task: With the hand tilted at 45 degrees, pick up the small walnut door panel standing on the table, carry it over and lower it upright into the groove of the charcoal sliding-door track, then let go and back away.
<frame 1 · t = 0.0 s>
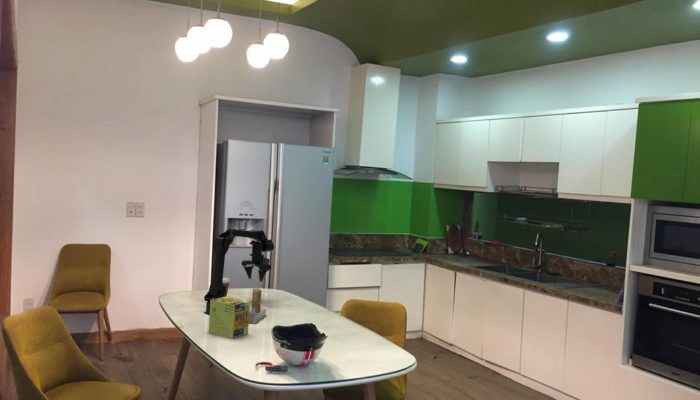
hand: (255, 280, 324), 15 cm above the table, tool pointing down, fingers open, 9 cm apart
protein box: (228, 334, 268), on the table
door panel: (255, 311, 313), on the table
door track: (255, 317, 299), on the table
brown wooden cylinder: (220, 299, 338), on the table
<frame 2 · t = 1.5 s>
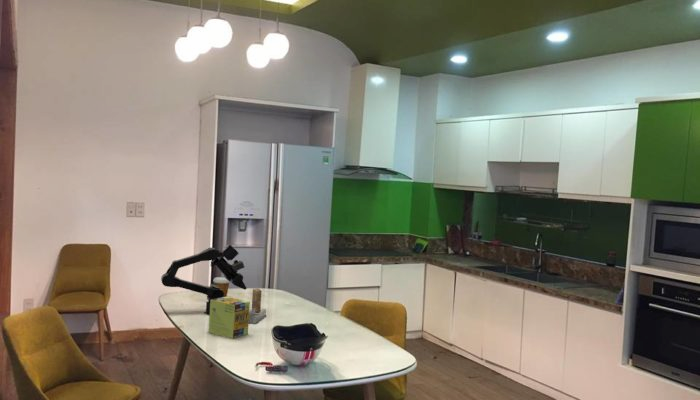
hand: (243, 287, 309), 13 cm above the table, tool tilted 45°, fingers open, 9 cm apart
nothing on the table moved.
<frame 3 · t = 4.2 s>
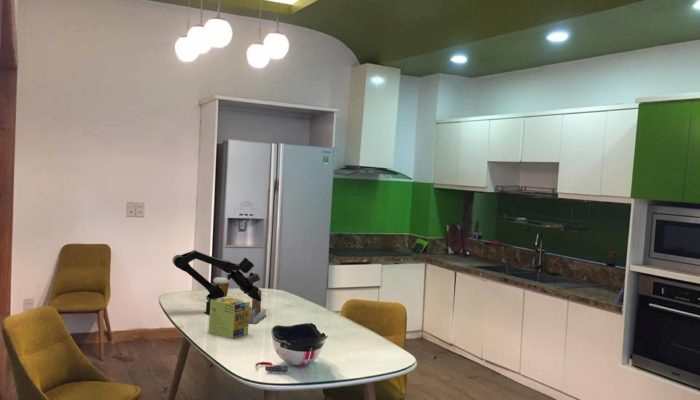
hand: (259, 299, 313), 7 cm above the table, tool tilted 45°, fingers closed on door panel, 6 cm apart
door panel: (255, 311, 313), on the table, touching gripper
everything else where it was.
when the fingers open (8 cm above the table, at t = 8.7 s): door panel drops 1 cm, resting on door track.
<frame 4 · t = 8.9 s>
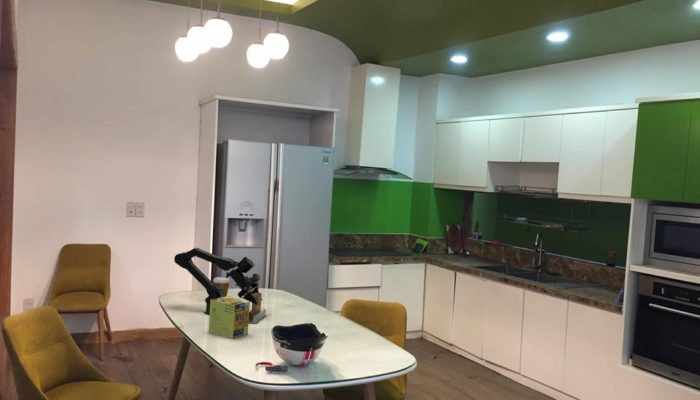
hand: (259, 302, 299), 8 cm above the table, tool tilted 45°, fingers open, 8 cm apart
door panel: (255, 316, 299), point 1 cm above the table, touching door track
everything else where it was.
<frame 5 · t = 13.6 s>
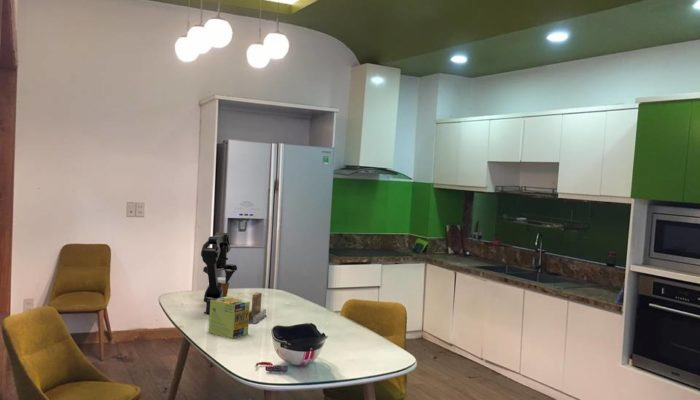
hand: (219, 284, 315), 13 cm above the table, tool pointing down, fingers open, 9 cm apart
nothing on the table moved.
at the end: door panel inside the target area on the door track (0.0 cm from its centre), point 0.6 cm above the door track's base; door panel tilted 0°; the gripper is holding nothing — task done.
